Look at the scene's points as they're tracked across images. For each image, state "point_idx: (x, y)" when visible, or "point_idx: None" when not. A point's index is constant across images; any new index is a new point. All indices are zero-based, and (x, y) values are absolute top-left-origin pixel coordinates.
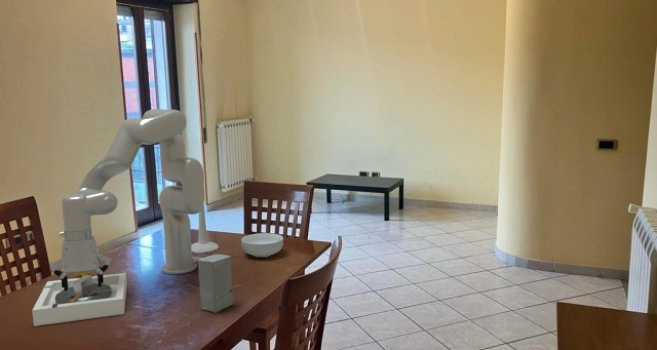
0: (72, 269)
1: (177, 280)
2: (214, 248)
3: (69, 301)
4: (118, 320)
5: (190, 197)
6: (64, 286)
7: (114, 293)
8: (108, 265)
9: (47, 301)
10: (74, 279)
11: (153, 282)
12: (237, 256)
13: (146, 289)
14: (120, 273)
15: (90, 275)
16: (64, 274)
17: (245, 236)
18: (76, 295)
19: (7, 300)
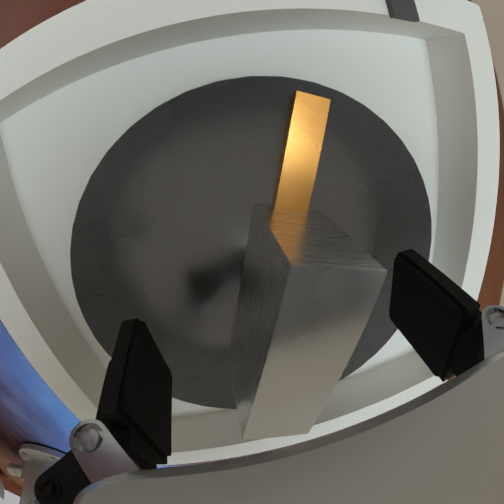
0: (495, 411)
1: (7, 412)
2: None
3: (334, 121)
4: (2, 29)
5: None
6: (430, 266)
7: None
8: (39, 498)
9: (448, 207)
10: (354, 418)
11: (62, 421)
12: (4, 467)
13: (41, 378)
14: None
15: (250, 435)
16: (497, 345)
17: (2, 499)
18: (307, 214)
19: (498, 299)
